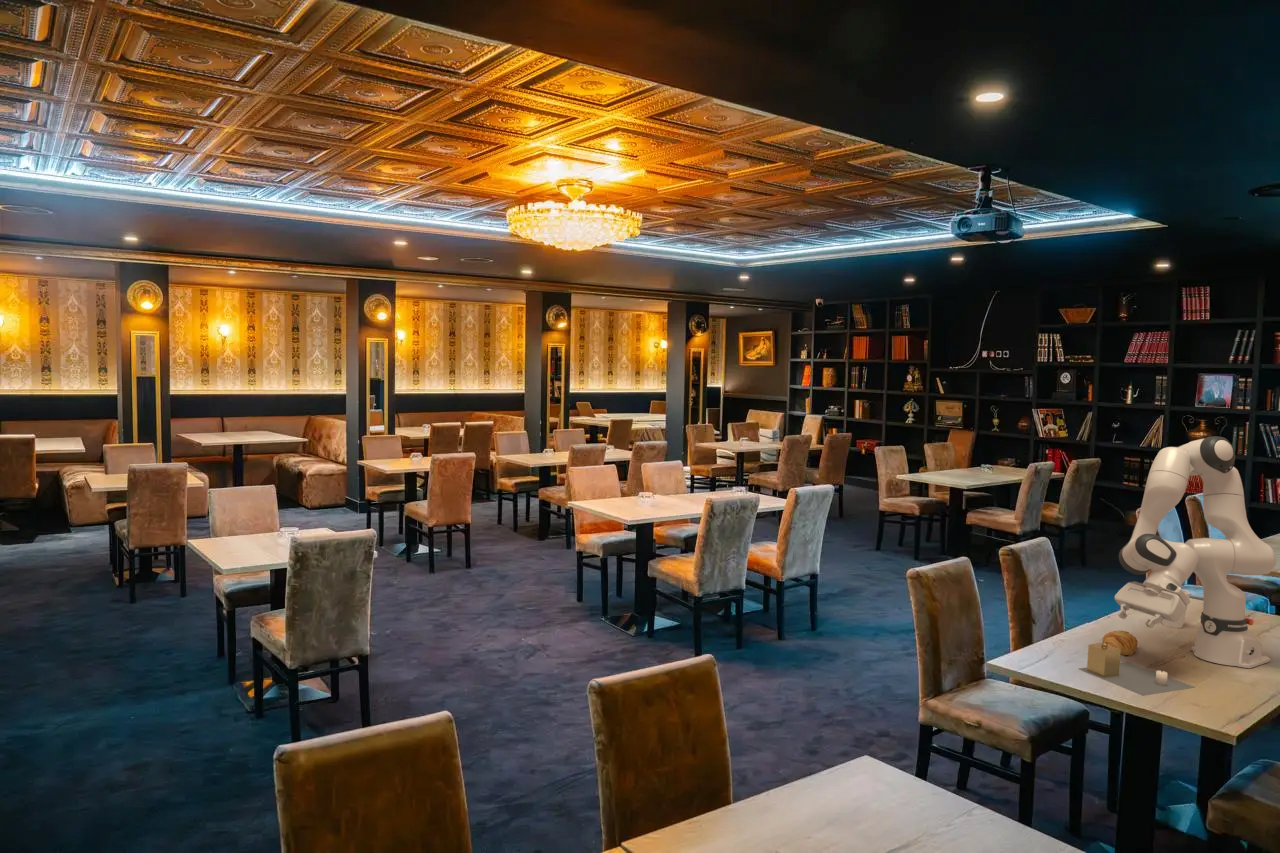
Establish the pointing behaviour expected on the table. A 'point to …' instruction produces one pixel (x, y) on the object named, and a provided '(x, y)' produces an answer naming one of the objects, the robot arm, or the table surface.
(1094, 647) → the brass knob block
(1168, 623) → the foam cup
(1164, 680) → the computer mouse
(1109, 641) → the croissant
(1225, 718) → the table surface
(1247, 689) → the table surface
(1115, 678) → the charcoal mat
